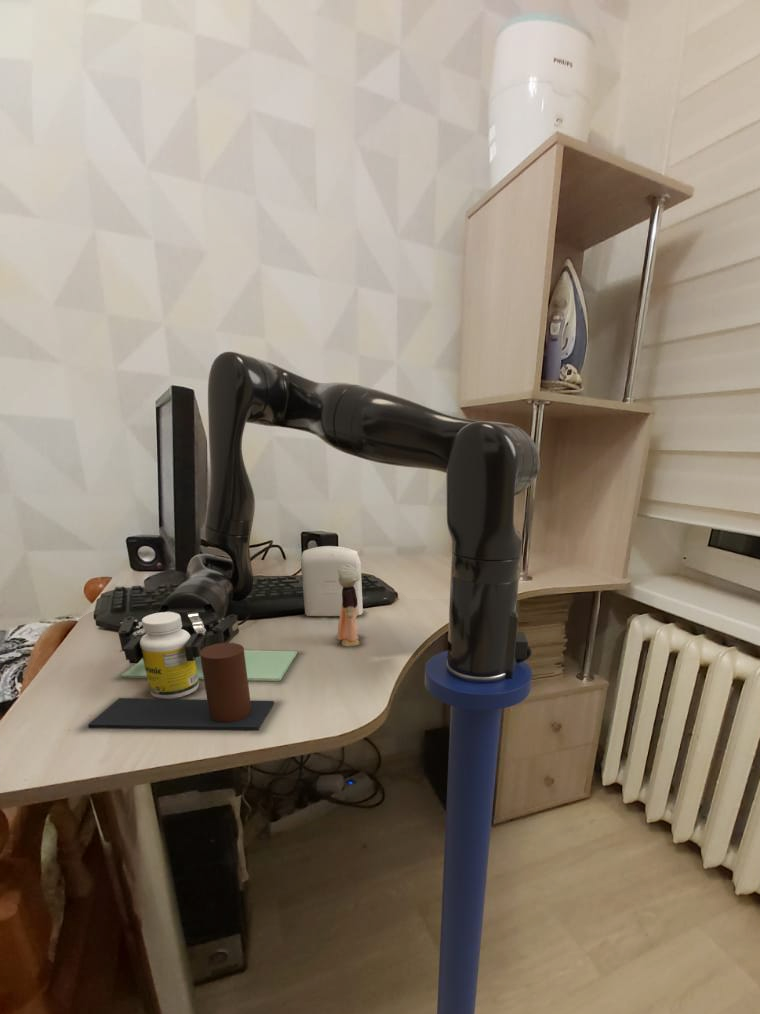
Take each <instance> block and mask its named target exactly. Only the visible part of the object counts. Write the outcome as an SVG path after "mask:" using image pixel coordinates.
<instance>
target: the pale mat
mask: <svg viewBox="0 0 760 1014" xmlns="http://www.w3.org/2000/svg"><path fill="white" fill-rule="evenodd" d="M244 654H245V662H246V670H247V678H248V681H254V682H255V681H256V682H257V681H258V682H259V681H260V682H280V681H281V680H282V679H283V677H284V676H285V673H286V672H287V670H288V669H289V668H290V666H291V664H292V663H293V661H294V660H295V658H296V657H297V655H298V651H296V650H295V651H294V650H293V651H292V650H260V649H259V650H253V649H250V650H249V649H244ZM195 663H196V668H197V674H198V680H204V676H203V670H202V664H201V658H200V657H196V659H195ZM121 678H123V679H124V678H125V679H147V674H146V670H145V665H144V661H143V658H142V659H141V660H140V661H139V662H138V663H134V665H132V666H131V667H130V668H129V669H128V670H126V671H125V672H124V673H123V674H122V675H121Z"/></svg>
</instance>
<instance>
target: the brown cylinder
mask: <svg viewBox="0 0 760 1014" xmlns="http://www.w3.org/2000/svg"><path fill="white" fill-rule="evenodd" d="M244 650H245V647H244V646H243V645H242V644H241V643H235V642H229V643H219V644H214V645H210V646H207V647H205V648H203V649H202V650H201V651H200V658H201V664H202V670H203V676H204V679H203V682H204V689H205V695H206V700H207V701H208V708H209V714H210V718H211V719H212V720H214V721H216V722H222V723H227V722H234V721H238V720H241V719H243V718H245V717H247V716H248V715H249V714H250V713H251V702H250V701H251V696H250V687H249V680H248V678H247V670H246V662H245V654H244Z"/></svg>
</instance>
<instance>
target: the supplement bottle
mask: <svg viewBox="0 0 760 1014" xmlns="http://www.w3.org/2000/svg"><path fill="white" fill-rule="evenodd" d="M141 622H142V624H143V629H144V632H145V633H147V634H145V635H144V636H143V637H142V638H141V640H140V648H141V652H142V656H143V658H142V659H143V661H144V665H145V670H146V674H147V678H146V679H147V684H148V688H149V691H150V694H151V696H152V697H154V698H156V699H180V698H181V697H185V696H188V695H190V694H192V693H194V692H195V691H197V689H198V688H199V686H200V679H198V674H197V668H196V663H195V661H187V659H186V653H185V644H186V643H187V641H188V640H189V638H190V637H191V636H190V634H189V633H188V632H187V631H185V630H183V629H181V628H182V621H181V617H180V615H179V614H177V613H173V612H161V613H158V612H155V613H152V614H151V613H150V614H147V615H146V616H144V617H143V618H142V619H141Z"/></svg>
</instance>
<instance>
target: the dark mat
mask: <svg viewBox="0 0 760 1014" xmlns="http://www.w3.org/2000/svg"><path fill="white" fill-rule="evenodd" d="M250 702H251V713H250V714H249V715H248V716H247V717H245V718H243V719H241V720H238V721H234V722H227V723H222V722H216V721H214V720H212V719H211V718H210V714H209V708H208V701H207V699H192V698H191V699H188V698H187V699H186V698H173V699H161V698H139V697H138V698H135V697H134V698H133V697H132V698H131V697H119V698H117V700H116V701H114V702H113V703H112V704H110V705H109V706H108V707H107V708H106V709H104V710H103V711H102V712H101V713H100V714H98V716H97V717H95V718H93V720H91V721H90V722H89V723H88V724H87V727H88V728H89V729H150V730H151V729H158V730H159V729H160V730H224V731H225V730H226V731H227V730H229V731H230V730H231V731H235V730H236V731H258V730H259V729H260V728H261V727H262V726H261V725H263V723H264V721H265V720H266V718H267V716H268V715H269V713H270V711H271V710H272V708H273V707H274V704H275V701H274V700H250Z"/></svg>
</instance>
